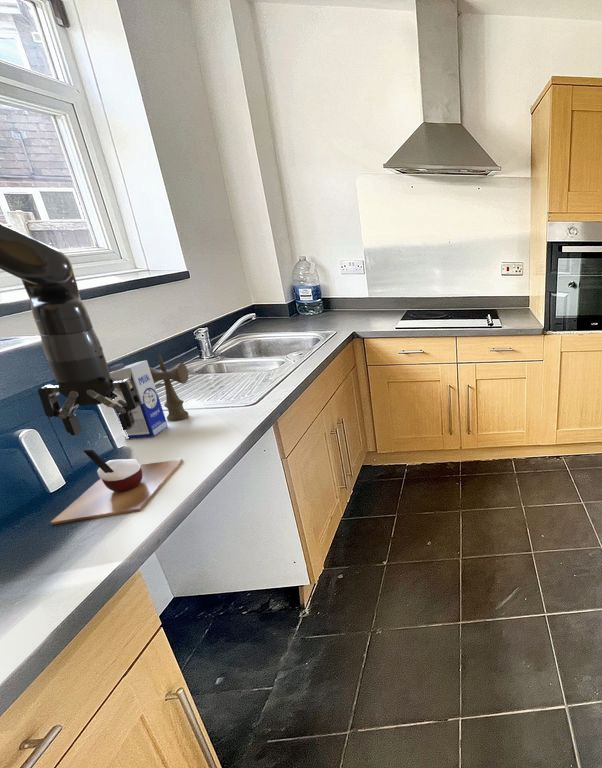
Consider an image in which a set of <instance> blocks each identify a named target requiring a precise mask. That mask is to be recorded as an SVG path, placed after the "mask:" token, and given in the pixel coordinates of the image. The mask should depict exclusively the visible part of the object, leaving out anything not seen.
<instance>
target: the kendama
mask: <svg viewBox="0 0 602 768" xmlns="http://www.w3.org/2000/svg"><path fill="white" fill-rule="evenodd" d="M157 357H158V358H157V359H158V363H159V366H160V369H157V368H154V367H152V366H149V368H150V372H151V375H152V378H153V381H154V384H157V383H158V382H160V381H163V384H164V390H165V398H166V399H165V403H164V404H163V406H164V407H165V408H166V409H167V412H168V414H167V415H166V420H168V421H178V420H181V419H184V418H186V417H188V416H189V412H188V411H186V410H185V409H184V405H183V404H184V402H185V401H184V400H183V399H180V398H179V396H178V394H177V393H176V390H175V389H174V387H173V384H172V382H171V380H172V381H175V382H177V383H179V384H182V385H184V384H186V383H187V382H188V381H189V371H188V367H187V366H186V365H185V363H183V362H180V363H178V364H176V365H174V366H173V367H172V368H170V369H167V368H166V366H165V363H164V360H163V358H162V355H161V353H157Z"/></svg>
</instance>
